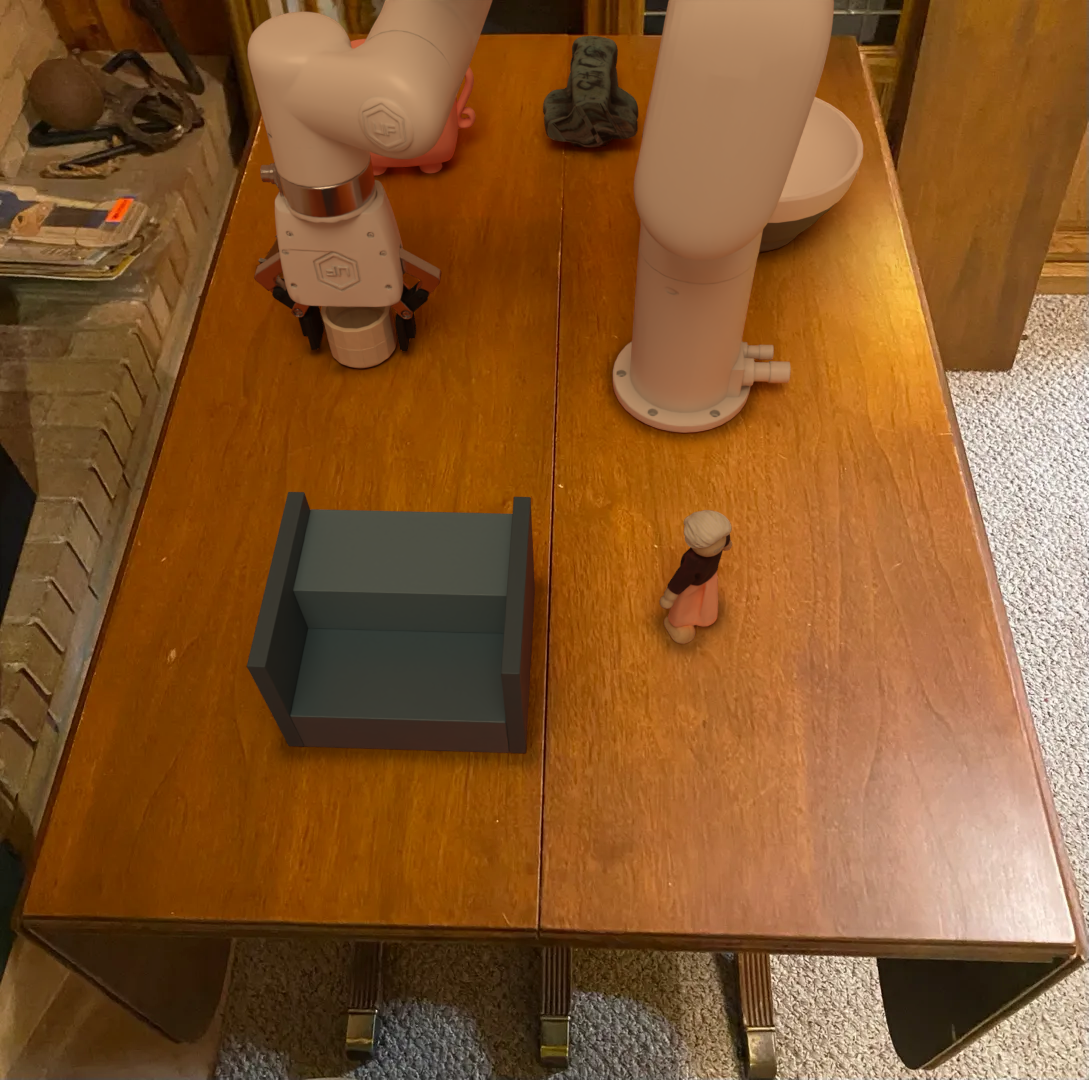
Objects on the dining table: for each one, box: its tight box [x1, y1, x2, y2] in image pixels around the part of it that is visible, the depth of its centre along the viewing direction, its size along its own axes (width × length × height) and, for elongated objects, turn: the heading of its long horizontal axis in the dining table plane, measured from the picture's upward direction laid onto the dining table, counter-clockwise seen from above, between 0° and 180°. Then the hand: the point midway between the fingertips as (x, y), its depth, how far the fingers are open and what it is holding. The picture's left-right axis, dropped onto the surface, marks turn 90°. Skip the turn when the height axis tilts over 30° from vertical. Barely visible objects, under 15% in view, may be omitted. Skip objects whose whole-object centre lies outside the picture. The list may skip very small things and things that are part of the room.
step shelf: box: [246, 491, 536, 754], centre depth 73 cm, size 17×14×12 cm
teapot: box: [350, 38, 476, 176], centre depth 111 cm, size 15×17×13 cm
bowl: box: [759, 96, 864, 253], centre depth 104 cm, size 20×20×10 cm
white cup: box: [320, 306, 398, 369], centre depth 96 cm, size 6×6×5 cm
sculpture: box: [542, 35, 639, 148], centre depth 116 cm, size 12×8×15 cm
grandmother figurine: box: [659, 509, 733, 645], centre depth 74 cm, size 8×4×13 cm, turn 148°
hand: (361, 339), depth 97 cm, fingers open, 7 cm apart
